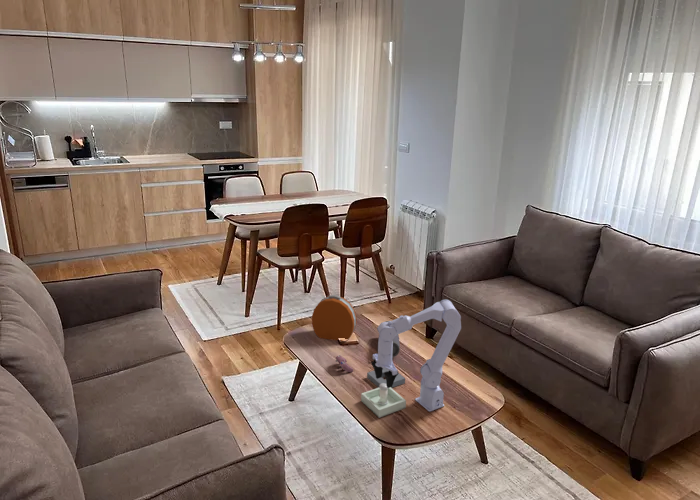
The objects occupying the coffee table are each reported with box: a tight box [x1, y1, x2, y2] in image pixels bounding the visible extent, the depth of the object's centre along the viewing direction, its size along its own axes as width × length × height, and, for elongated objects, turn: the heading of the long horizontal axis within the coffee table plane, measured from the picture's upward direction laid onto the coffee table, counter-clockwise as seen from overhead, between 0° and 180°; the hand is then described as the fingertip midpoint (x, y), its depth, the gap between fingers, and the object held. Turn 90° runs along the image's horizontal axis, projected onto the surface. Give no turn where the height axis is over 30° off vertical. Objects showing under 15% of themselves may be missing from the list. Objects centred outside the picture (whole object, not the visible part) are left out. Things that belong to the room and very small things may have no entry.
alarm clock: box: [311, 294, 358, 341], centre depth 257 cm, size 22×10×23 cm, turn 74°
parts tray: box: [360, 387, 407, 419], centre depth 203 cm, size 13×13×4 cm
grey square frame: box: [366, 368, 406, 389], centre depth 220 cm, size 12×12×2 cm
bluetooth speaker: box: [384, 320, 401, 358], centre depth 246 cm, size 23×9×10 cm, turn 179°
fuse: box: [379, 383, 388, 405], centre depth 202 cm, size 4×4×8 cm
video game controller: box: [335, 354, 354, 373], centre depth 229 cm, size 10×5×7 cm, turn 21°
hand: (384, 382), depth 200 cm, fingers open, 7 cm apart
